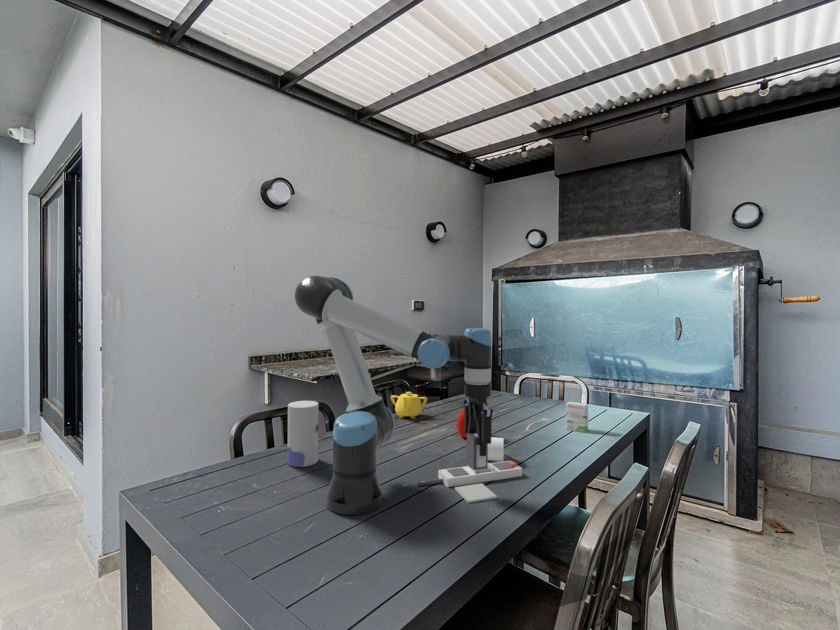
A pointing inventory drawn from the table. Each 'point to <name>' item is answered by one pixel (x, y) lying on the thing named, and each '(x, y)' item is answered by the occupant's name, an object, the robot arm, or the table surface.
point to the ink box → (577, 417)
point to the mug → (496, 449)
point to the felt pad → (475, 493)
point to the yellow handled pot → (408, 404)
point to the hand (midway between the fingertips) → (476, 463)
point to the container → (302, 433)
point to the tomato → (461, 424)
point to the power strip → (476, 474)
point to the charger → (474, 451)
